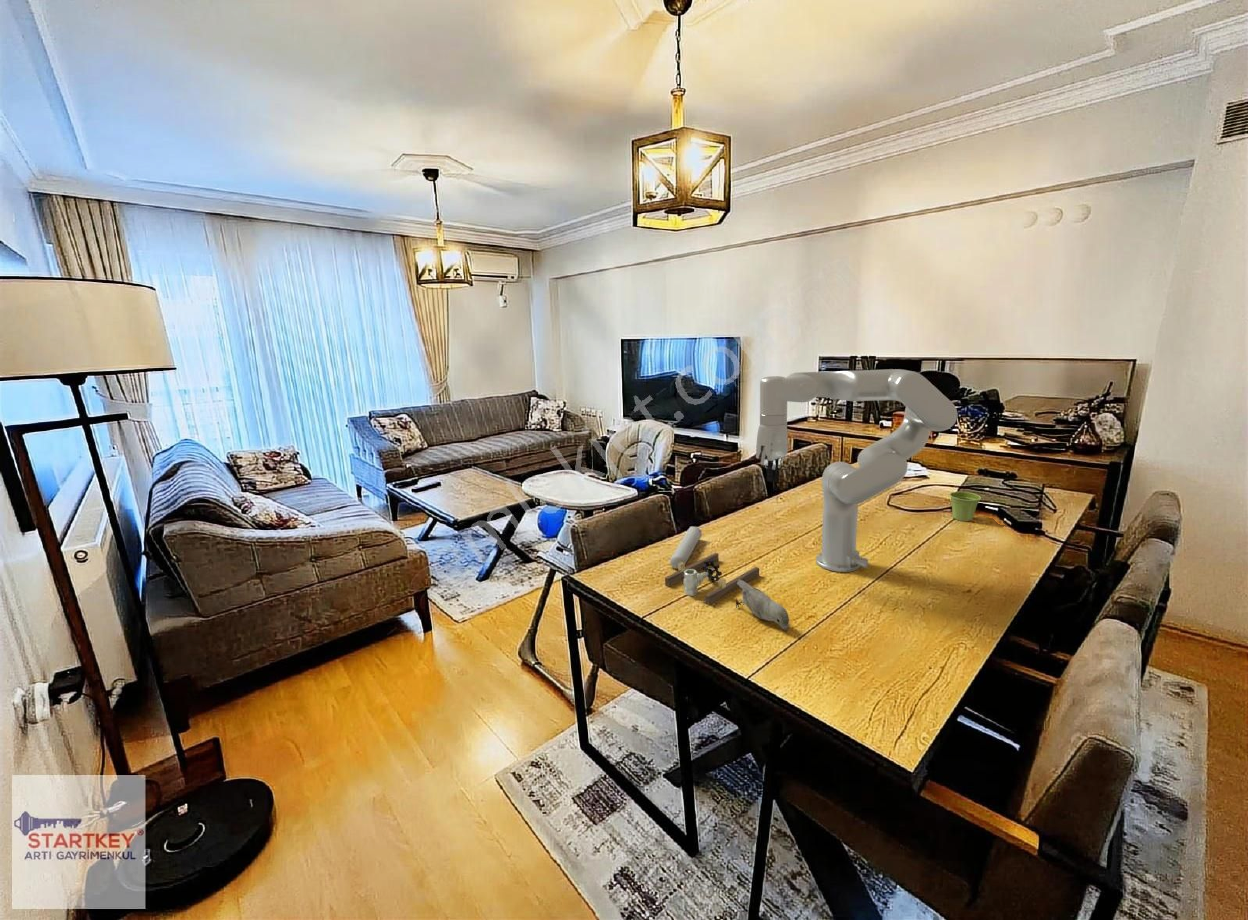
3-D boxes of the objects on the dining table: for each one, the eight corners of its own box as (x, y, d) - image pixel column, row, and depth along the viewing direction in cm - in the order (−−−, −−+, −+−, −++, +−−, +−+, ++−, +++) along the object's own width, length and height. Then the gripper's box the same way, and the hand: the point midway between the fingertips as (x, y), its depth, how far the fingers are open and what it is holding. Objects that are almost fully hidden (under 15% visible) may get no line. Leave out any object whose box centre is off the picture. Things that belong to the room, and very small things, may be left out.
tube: (686, 560, 157) (703, 529, 179) (670, 553, 158) (689, 523, 181) (681, 575, 159) (699, 542, 181) (665, 568, 160) (685, 536, 182)
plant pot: (978, 516, 186) (980, 493, 184) (978, 525, 178) (981, 501, 176) (947, 512, 191) (949, 490, 189) (947, 521, 183) (949, 498, 181)
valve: (695, 599, 141) (722, 584, 149) (694, 578, 140) (722, 563, 147) (677, 591, 146) (704, 577, 154) (676, 570, 145) (704, 556, 152)
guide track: (759, 575, 152) (759, 560, 151) (708, 605, 138) (708, 588, 137) (715, 559, 164) (715, 545, 163) (665, 585, 150) (664, 570, 149)
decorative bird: (779, 636, 123) (779, 608, 121) (731, 608, 136) (731, 582, 134) (794, 628, 126) (794, 600, 124) (746, 602, 139) (746, 576, 137)
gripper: (776, 415, 155) (775, 473, 159) (746, 423, 146) (747, 484, 150) (799, 417, 149) (797, 477, 154) (769, 425, 140) (769, 489, 144)
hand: (772, 481), depth 152 cm, fingers closed
